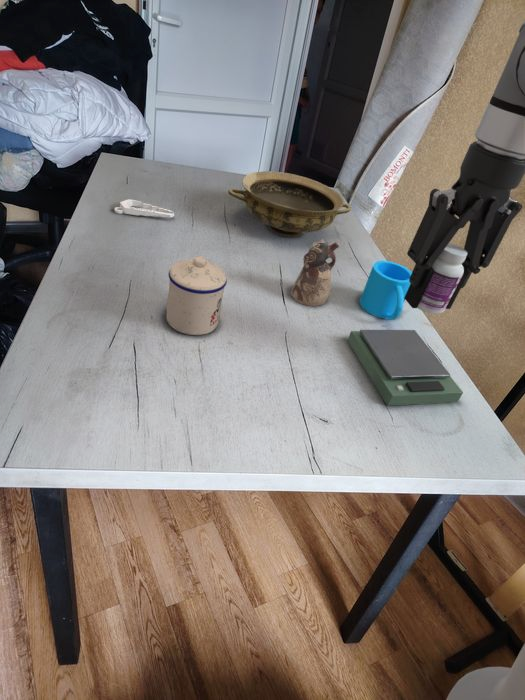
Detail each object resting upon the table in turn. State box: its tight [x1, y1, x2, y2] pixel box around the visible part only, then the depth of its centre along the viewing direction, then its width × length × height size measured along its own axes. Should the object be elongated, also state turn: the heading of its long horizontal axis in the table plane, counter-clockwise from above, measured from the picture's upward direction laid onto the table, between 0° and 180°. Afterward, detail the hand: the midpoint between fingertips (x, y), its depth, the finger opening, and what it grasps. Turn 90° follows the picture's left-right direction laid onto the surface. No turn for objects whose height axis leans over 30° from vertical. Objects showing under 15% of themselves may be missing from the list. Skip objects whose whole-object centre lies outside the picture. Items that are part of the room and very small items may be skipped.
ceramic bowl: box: [227, 170, 352, 237], centre depth 114 cm, size 30×24×10 cm
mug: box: [359, 260, 412, 321], centre depth 92 cm, size 12×8×8 cm
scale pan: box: [359, 329, 451, 380], centre depth 79 cm, size 12×11×1 cm
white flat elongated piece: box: [114, 199, 175, 219], centre depth 108 cm, size 13×5×2 cm, turn 94°
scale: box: [347, 330, 464, 407], centre depth 80 cm, size 16×13×3 cm
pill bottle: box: [416, 242, 467, 315], centre depth 71 cm, size 5×5×10 cm
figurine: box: [290, 238, 340, 307], centre depth 90 cm, size 7×7×12 cm
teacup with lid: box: [166, 255, 228, 336], centre depth 77 cm, size 12×9×12 cm
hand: (427, 303), depth 73 cm, fingers closed on pill bottle, 5 cm apart
